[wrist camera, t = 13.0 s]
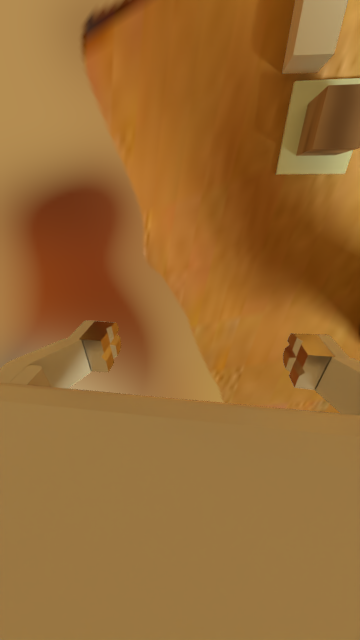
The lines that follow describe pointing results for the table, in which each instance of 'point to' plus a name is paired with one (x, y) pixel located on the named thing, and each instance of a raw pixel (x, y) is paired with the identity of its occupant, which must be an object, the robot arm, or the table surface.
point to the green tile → (293, 127)
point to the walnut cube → (332, 122)
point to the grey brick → (313, 34)
